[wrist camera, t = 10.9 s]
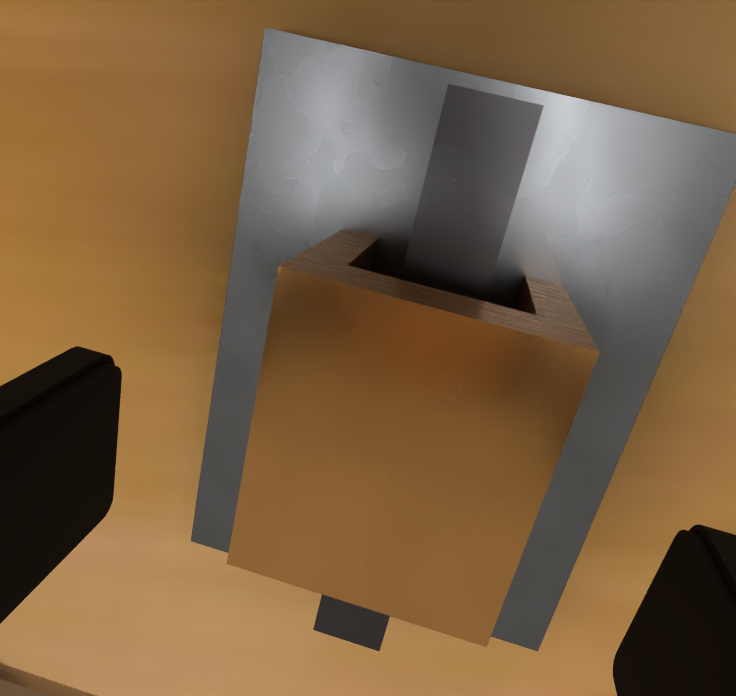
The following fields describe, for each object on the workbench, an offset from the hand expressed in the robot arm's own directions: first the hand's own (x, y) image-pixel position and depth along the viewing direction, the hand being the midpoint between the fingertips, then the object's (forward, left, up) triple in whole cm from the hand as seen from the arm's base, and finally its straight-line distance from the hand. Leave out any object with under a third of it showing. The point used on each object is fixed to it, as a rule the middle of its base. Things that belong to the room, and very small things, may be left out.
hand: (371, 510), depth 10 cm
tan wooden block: (+1, 0, -8) cm, 8 cm away
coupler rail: (+1, 0, -9) cm, 9 cm away
